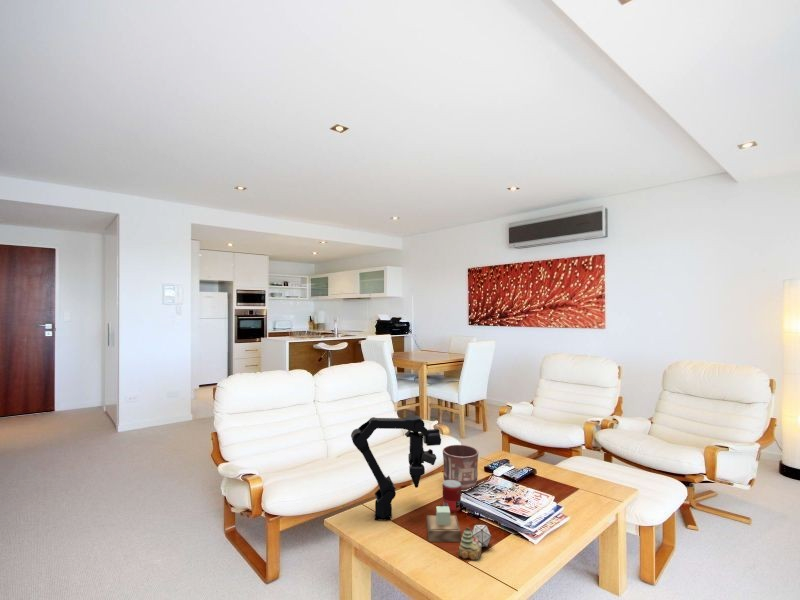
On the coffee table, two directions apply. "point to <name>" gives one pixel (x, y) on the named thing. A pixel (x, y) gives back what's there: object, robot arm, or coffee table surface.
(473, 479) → the pottery
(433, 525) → the pedestal
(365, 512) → the coffee table surface
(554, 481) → the coffee table surface
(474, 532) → the game die
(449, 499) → the canned food
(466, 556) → the ornament
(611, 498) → the coffee table surface
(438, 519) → the sage block
